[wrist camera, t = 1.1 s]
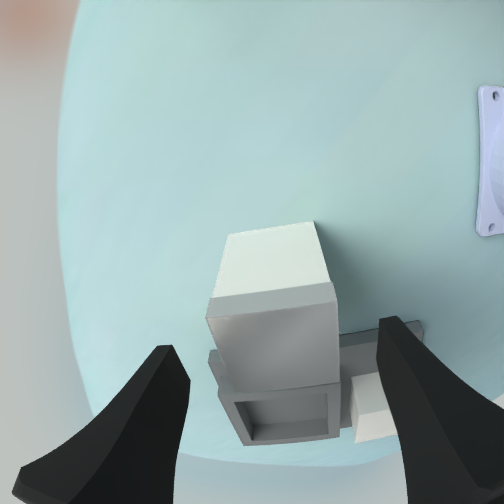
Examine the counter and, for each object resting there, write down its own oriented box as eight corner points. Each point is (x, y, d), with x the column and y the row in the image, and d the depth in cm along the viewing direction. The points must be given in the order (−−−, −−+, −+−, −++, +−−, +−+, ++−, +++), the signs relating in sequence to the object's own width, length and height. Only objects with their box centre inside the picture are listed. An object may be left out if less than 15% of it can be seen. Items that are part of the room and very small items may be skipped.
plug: (313, 219, 14) (337, 300, 9) (321, 290, 16) (339, 381, 11) (227, 233, 15) (205, 317, 10) (245, 301, 17) (235, 392, 12)
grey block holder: (418, 320, 17) (441, 367, 14) (398, 406, 22) (409, 446, 18) (210, 350, 19) (199, 402, 15) (244, 427, 24) (241, 468, 20)
